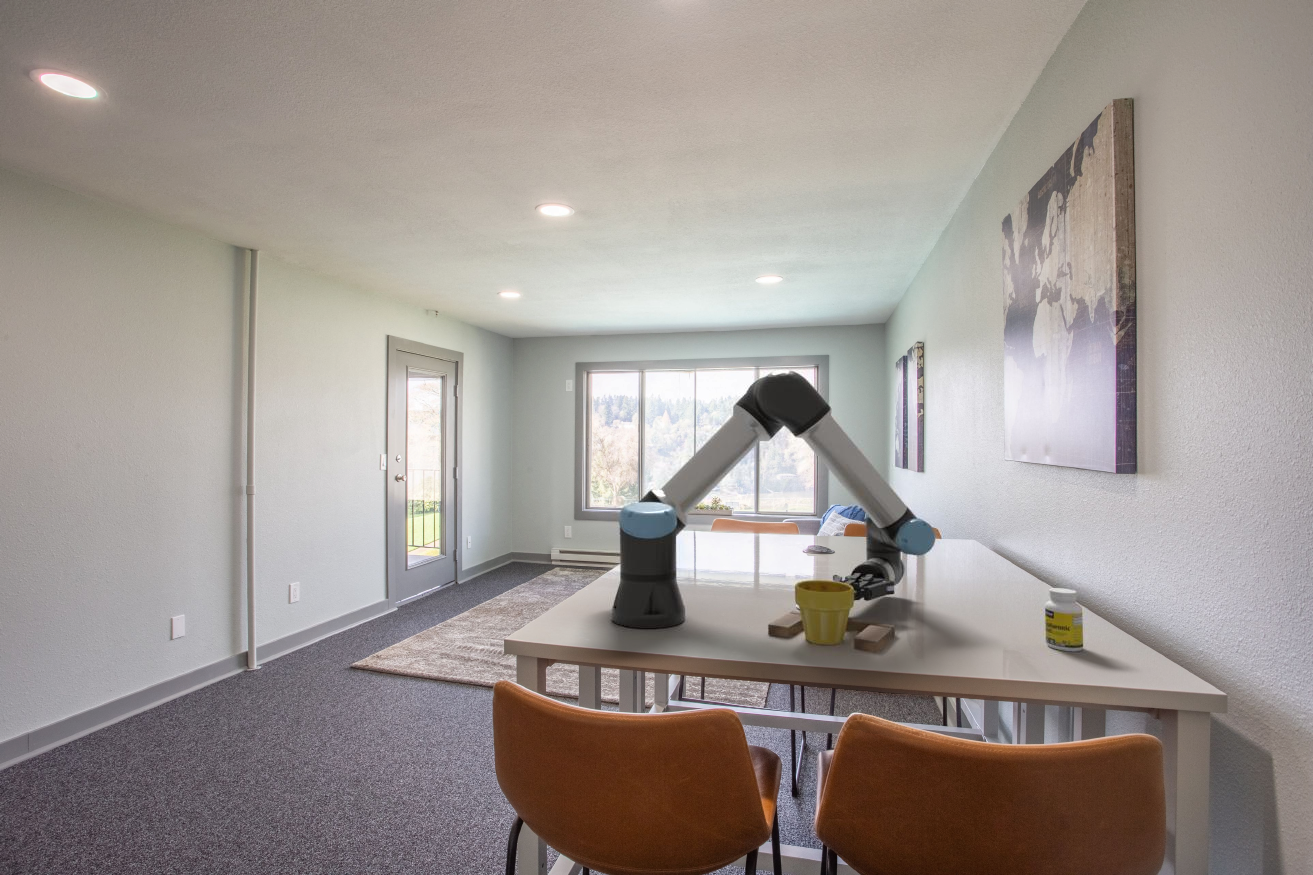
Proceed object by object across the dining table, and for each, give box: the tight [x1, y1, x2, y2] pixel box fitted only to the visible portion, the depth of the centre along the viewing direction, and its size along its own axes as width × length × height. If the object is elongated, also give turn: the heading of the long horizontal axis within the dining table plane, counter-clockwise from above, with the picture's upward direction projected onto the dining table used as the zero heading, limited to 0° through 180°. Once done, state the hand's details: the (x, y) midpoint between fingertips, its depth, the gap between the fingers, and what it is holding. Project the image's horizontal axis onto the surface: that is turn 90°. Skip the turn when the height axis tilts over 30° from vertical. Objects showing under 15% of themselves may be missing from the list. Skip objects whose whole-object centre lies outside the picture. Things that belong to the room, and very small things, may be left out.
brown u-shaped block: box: [767, 610, 896, 653], centre depth 115 cm, size 20×12×2 cm, turn 56°
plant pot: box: [794, 579, 855, 646], centre depth 112 cm, size 10×10×10 cm
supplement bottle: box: [1044, 587, 1084, 653], centre depth 106 cm, size 5×5×10 cm
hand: (838, 599), depth 115 cm, fingers closed
